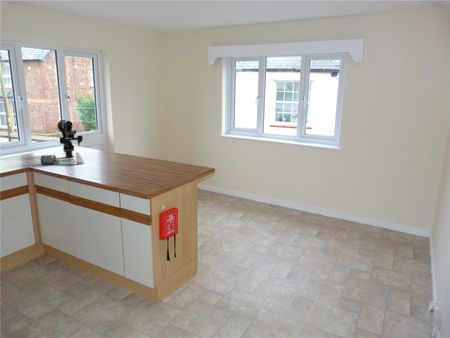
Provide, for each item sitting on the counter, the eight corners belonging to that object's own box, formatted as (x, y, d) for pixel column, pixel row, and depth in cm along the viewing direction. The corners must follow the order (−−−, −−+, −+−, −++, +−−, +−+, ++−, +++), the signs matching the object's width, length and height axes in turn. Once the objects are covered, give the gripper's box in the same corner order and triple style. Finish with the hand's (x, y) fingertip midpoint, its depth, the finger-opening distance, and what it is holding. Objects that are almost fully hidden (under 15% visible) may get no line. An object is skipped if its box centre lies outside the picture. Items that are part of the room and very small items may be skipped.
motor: (45, 162, 300) (44, 154, 298) (76, 161, 303) (74, 153, 301) (40, 166, 288) (39, 157, 286) (71, 165, 292) (70, 156, 290)
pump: (77, 163, 299) (76, 152, 296) (85, 162, 300) (83, 151, 297) (75, 164, 293) (74, 153, 290) (83, 164, 294) (81, 153, 291)
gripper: (58, 128, 293) (62, 141, 286) (80, 126, 304) (85, 139, 297) (58, 137, 301) (62, 149, 294) (80, 135, 312) (84, 147, 304)
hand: (73, 146), depth 297 cm, fingers open, 9 cm apart
